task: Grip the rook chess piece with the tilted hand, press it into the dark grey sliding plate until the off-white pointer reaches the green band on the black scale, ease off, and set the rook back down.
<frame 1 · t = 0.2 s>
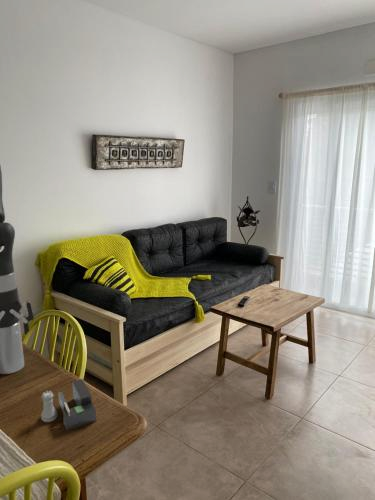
hand: (11, 336, 123), 18 cm above the table, tool pointing down, fingers open, 8 cm apart
gauge plate: (64, 406, 112), point 3 cm above the table, slide at 0.0 cm
rook chess piece: (49, 418, 112), on the table
gauge frame: (75, 408, 116), on the table
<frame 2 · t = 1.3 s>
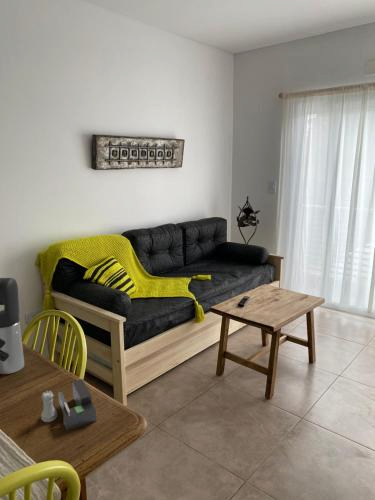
hand: (5, 351, 104), 22 cm above the table, tool tilted 45°, fingers open, 8 cm apart
nothing on the table moved.
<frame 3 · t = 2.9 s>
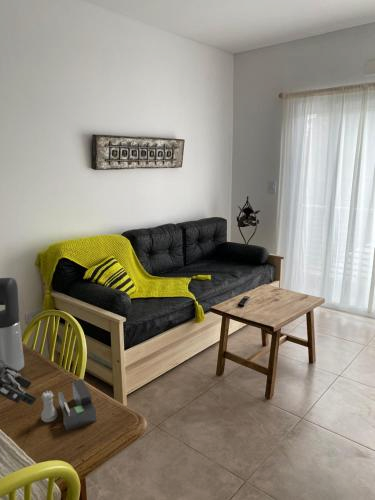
hand: (31, 393, 108), 9 cm above the table, tool tilted 45°, fingers open, 8 cm apart
nothing on the table moved.
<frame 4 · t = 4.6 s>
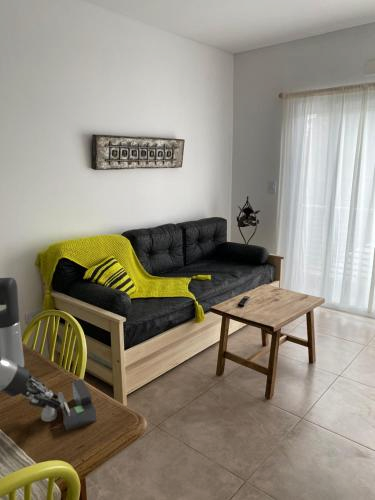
hand: (56, 402, 113), 4 cm above the table, tool tilted 45°, fingers closed on rook chess piece, 3 cm apart
rook chess piece: (49, 418, 112), on the table, touching gripper
everything else where it was.
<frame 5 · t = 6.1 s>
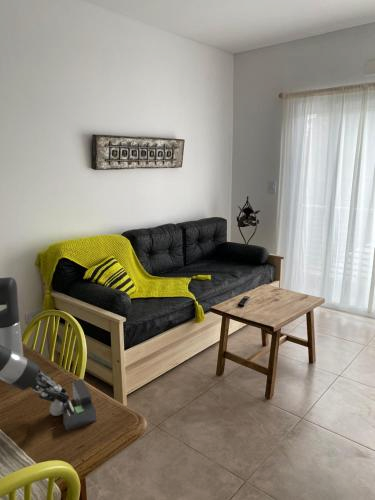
hand: (65, 396, 114), 5 cm above the table, tool tilted 45°, fingers closed on rook chess piece, 3 cm apart
gauge plate: (68, 405, 113), point 3 cm above the table, slide at 1.2 cm, touching gripper
rook chess piece: (57, 412, 113), point 1 cm above the table, touching gripper
when the fingers open (5 cm above the table, at t = 8.9 s): rook chess piece stays where it is, on the table.
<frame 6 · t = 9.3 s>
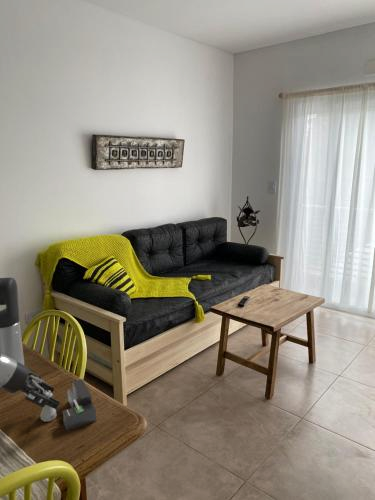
hand: (54, 398, 112), 5 cm above the table, tool tilted 45°, fingers open, 7 cm apart
gauge plate: (73, 403, 113), point 3 cm above the table, slide at 2.7 cm
rook chess piece: (48, 418, 112), on the table
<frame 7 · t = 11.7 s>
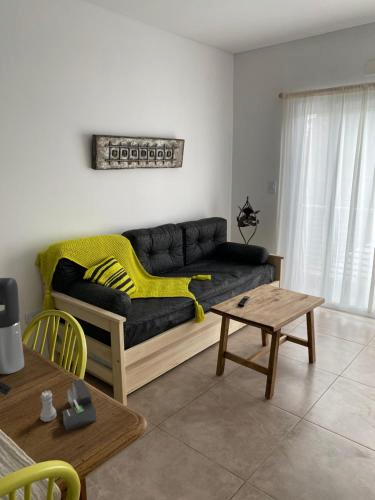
hand: (2, 385, 106), 13 cm above the table, tool tilted 40°, fingers open, 8 cm apart
nothing on the table moved.
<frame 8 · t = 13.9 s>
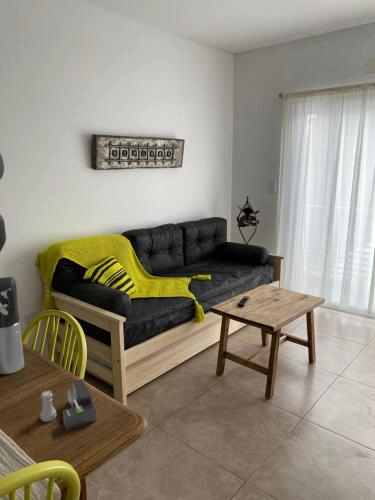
nothing on the table moved.
at the end: gauge plate slide at 2.7 cm; rook chess piece tilted 0°; the gripper is holding nothing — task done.
